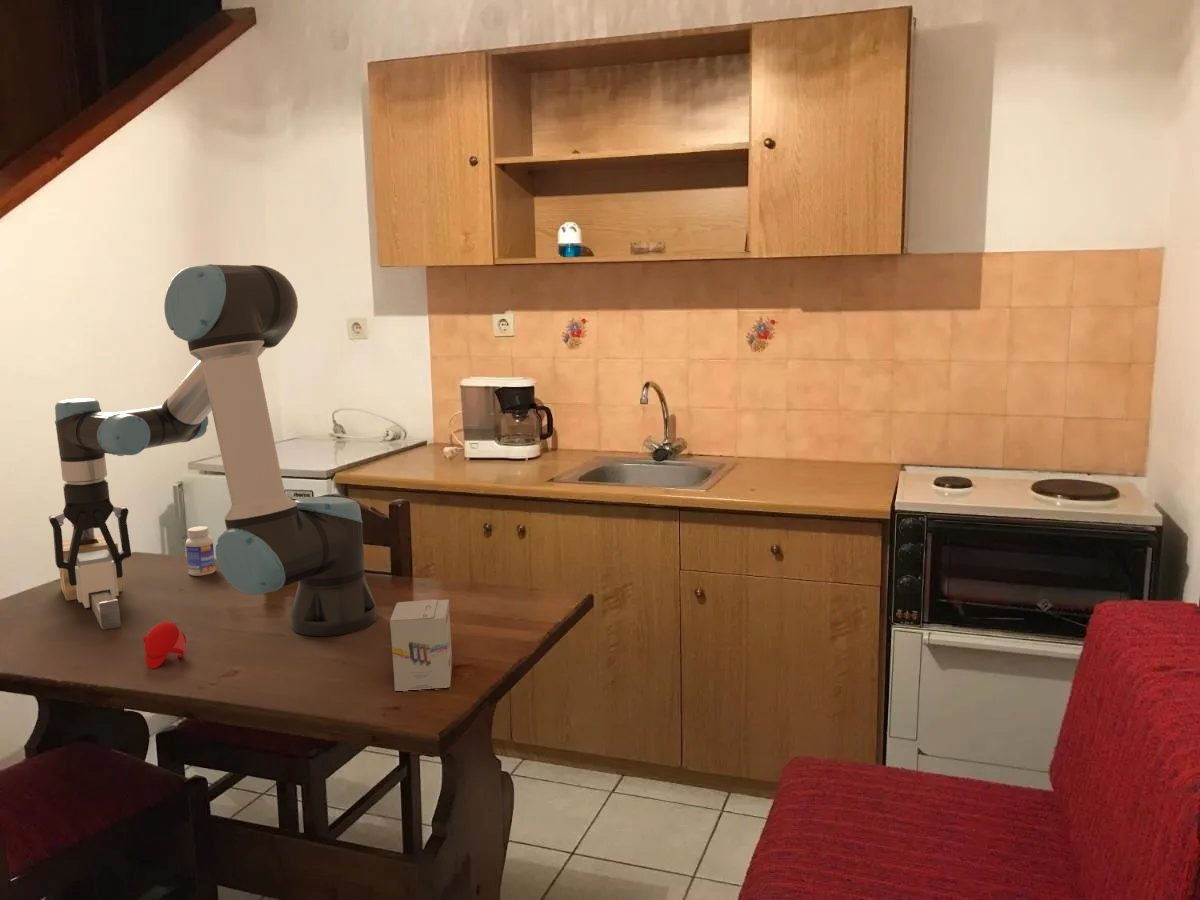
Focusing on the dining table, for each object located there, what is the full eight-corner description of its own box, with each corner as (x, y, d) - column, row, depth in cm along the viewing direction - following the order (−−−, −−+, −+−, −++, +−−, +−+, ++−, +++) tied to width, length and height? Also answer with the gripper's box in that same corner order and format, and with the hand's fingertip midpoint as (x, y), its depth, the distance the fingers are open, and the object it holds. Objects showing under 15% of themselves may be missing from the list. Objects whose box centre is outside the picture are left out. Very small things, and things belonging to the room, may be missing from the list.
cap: (156, 631, 164) (132, 624, 158) (187, 620, 163) (165, 613, 158) (159, 676, 160) (136, 671, 155) (192, 665, 160) (169, 660, 154)
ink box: (399, 670, 155) (395, 599, 152) (453, 667, 155) (450, 597, 153) (392, 693, 146) (388, 618, 144) (449, 690, 147) (446, 616, 145)
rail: (120, 626, 175) (118, 600, 174) (102, 630, 173) (99, 603, 172) (103, 594, 193) (100, 570, 192) (86, 597, 191) (83, 573, 190)
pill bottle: (205, 577, 203) (201, 532, 202) (182, 575, 204) (178, 531, 203) (220, 569, 209) (217, 525, 207) (198, 568, 210) (194, 524, 208)
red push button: (100, 544, 193) (97, 521, 192) (75, 548, 191) (73, 524, 190) (97, 539, 197) (94, 516, 196) (73, 543, 194) (70, 520, 194)
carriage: (116, 602, 186) (111, 556, 185) (84, 608, 183) (79, 561, 182) (111, 594, 191) (107, 549, 190) (80, 599, 188) (75, 554, 187)
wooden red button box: (122, 591, 195) (117, 543, 193) (66, 600, 189) (60, 551, 187) (115, 579, 202) (110, 533, 200) (61, 588, 197) (55, 541, 195)
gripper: (135, 471, 191) (146, 583, 195) (27, 483, 181) (41, 601, 185) (141, 477, 185) (153, 593, 189) (30, 490, 175) (45, 612, 179)
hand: (98, 597), depth 187 cm, fingers closed on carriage, 5 cm apart
